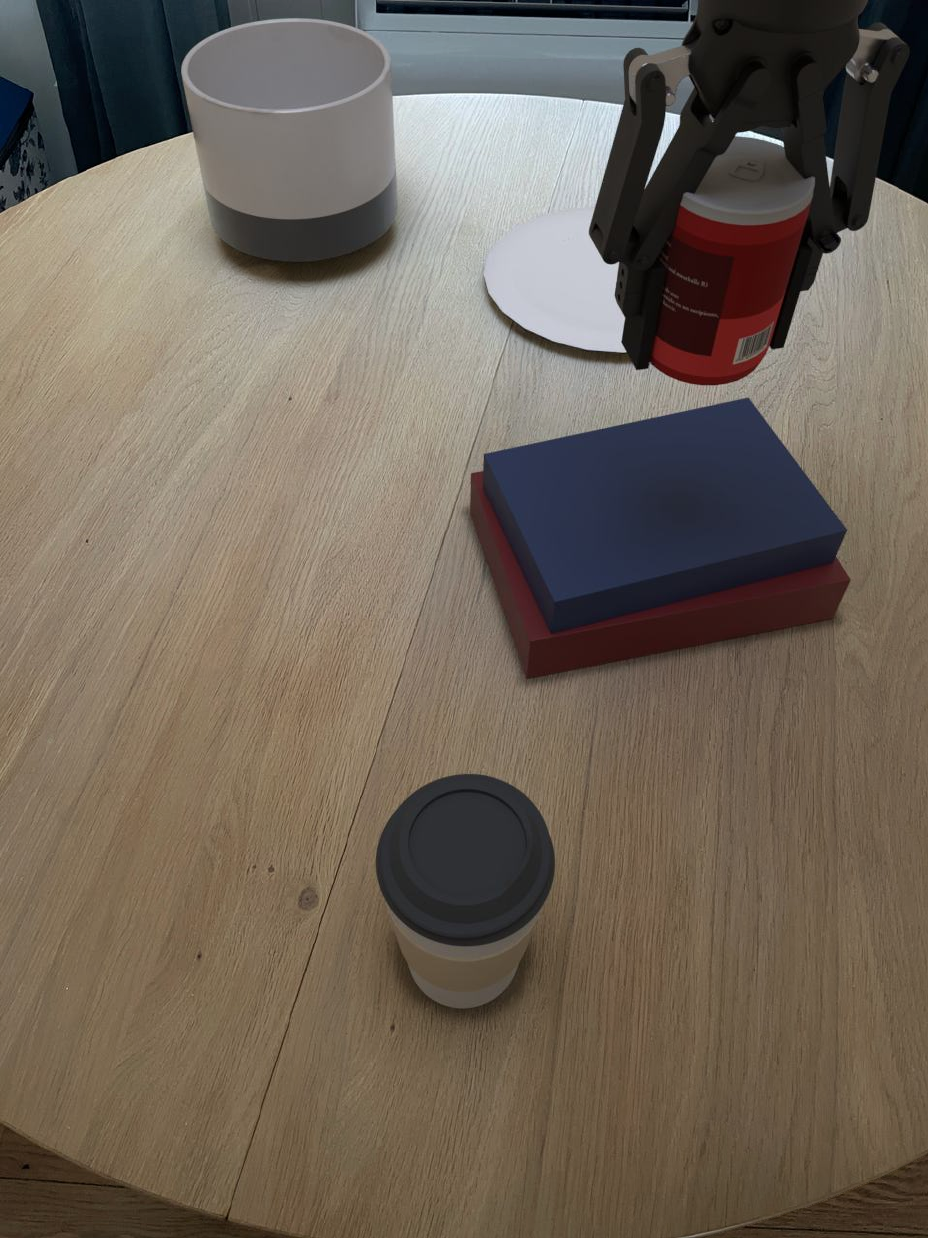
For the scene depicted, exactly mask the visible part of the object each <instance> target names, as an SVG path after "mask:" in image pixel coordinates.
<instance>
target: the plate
mask: <svg viewBox="0 0 928 1238" xmlns="http://www.w3.org/2000/svg"><path fill="white" fill-rule="evenodd" d="M595 206H596V205H594V206H582V207H568V208H563V209H559V210H555V211H550V212H546V213H542V214H539V215H536V216H534V217H532V218H530V219H528V220H525V221H523V222H521V223H518V224H516V225H515V226H514V227H512V228H511V229H510V230H508V231H507V232H505V233H504V234H502V235H501V236H500V237H498V239H497V240H496V242H495V243H494V244H493V246H492V247H491V249H490V250H489V252H488V253H487V254H486V259H485V263H484V269H483V278H484V282H485V285H486V290H487V294H488V296H489V297H490V299H491V300H492V301H493V303H494V304H495V305H496V307H497V308H498V309H499V311H500V312H501V314H503V315H504V316H505V317H507V318H508V319H509V320H511V321H512V322H513V323H514V324H516V325H517V326H519V327H520V328H521V329H522V330H524V331H526V332H528V333H530V334H533V335H535V336H537V337H539V338H542V339H544V340H546V341H548V342H551V343H553V344H556V345H559V346H564V347H568V348H572V349H577V350H580V351H584V352H589V353H604V354H615V355H625V354H627V352H626V350H625V348H624V346H623V345H622V343H621V341H622V335H623V328H624V321H625V317H624V315H623V313H622V311H621V310H620V308H619V306H618V304H617V302H616V299H615V296H614V295H615V288H616V281H617V274H618V267H619V262H618V263H616V264H612V265H610V264H606V263H605V262H604V261H603V259H602V257H601V255H600V254H599V252H598V250H597V248H596V246H595V245H594V243H593V241H592V239H591V238H590V236H589V227H590V224H591V220H592V216H593V213H594V209H595ZM580 236H582V237H580ZM576 237H577V238H576ZM569 238H573V239H569ZM568 239H569V240H568ZM564 240H565V241H564ZM562 241H563V242H562ZM627 355H628V354H627Z"/></svg>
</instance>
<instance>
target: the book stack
mask: <svg viewBox="0 0 928 1238" xmlns="http://www.w3.org/2000/svg"><path fill="white" fill-rule="evenodd" d="M482 465H483V467H482V468H483V469H482V470H481V471H476V472H471V473H470V494H469V495H470V496H469V497H470V499H469V502H470V503H469V514H470V516H471V519H472V523H473V525H474V528H475V531H476V534H477V537H478V540H479V542H480V547H481V550H482V552H483V555H484V558H485V560H486V563H487V567H488V570H489V573H490V575H491V579H492V581H493V585H494V588H495V590H496V593H497V596H498V599H499V602H500V605H501V608H502V610H503V611H502V612H503V613H504V616H505V619H506V623H507V625H508V628H509V631H510V635H511V637H512V640H513V643H514V646H515V649H516V652H517V654H518V657H519V661H520V663H521V667H522V670H523V672H524V675H525V678H526V680H528V679H533V678H537V677H543V676H548V675H552V674H559V673H563V672H568V671H574V670H579V669H582V668H589V667H594V666H599V665H604V664H609V663H614V662H618V661H619V662H620V661H624V660H629V659H634V658H640V657H644V656H651V655H655V654H660V653H665V652H670V651H674V650H681V649H685V648H691V647H695V646H700V645H705V644H710V643H715V642H721V641H726V640H731V639H736V638H741V637H745V636H747V637H748V636H751V635H757V634H762V633H767V632H772V631H777V630H782V629H786V628H792V627H798V626H802V625H808V624H812V623H818V622H822V621H828V620H833V619H834V617H835V616H836V613H837V611H838V610H839V607H840V605H841V602H842V600H843V598H844V596H845V593H846V592H847V589H848V587H849V585H850V583H851V581H852V579H851V578H850V576H849V575H848V573H847V571H846V570H845V568H844V566H843V565H842V563H841V562H840V560H839V558H838V557H837V555H838V553H839V550H840V549H841V546H842V544H843V541H844V539H845V537H846V534H847V532H848V528H846V526H845V525H844V523H843V522H842V520H841V519H840V518H839V517H838V515H837V514H836V513H835V511H834V510H833V509H832V507H831V505H830V504H829V503H828V502H827V501H826V499H825V498H824V497H823V495H822V494H821V493H820V491H819V490H818V489H817V487H816V486H815V485H814V483H813V482H812V480H811V478H809V476H808V475H807V473H805V471H804V469H803V468H802V467H801V466H800V464H799V463H798V462H797V460H796V459H795V458H794V456H793V455H792V453H790V451H789V450H788V448H787V447H786V445H785V444H784V443H783V441H782V440H781V439H780V438H779V436H778V435H777V434H776V433H775V430H773V428H772V426H771V425H770V424H769V423H768V422H767V420H766V419H765V417H764V416H763V414H761V412H760V410H759V409H758V408H757V407H756V405H755V404H754V402H753V401H752V399H750V397H744V398H740V399H735V400H730V401H726V402H720V403H715V404H712V405H711V404H710V405H707V406H702V407H697V408H692V409H687V410H684V411H679V412H675V413H669V414H665V415H660V416H655V417H651V418H645V419H639V420H637V421H631V422H628V423H623V424H622V423H621V424H617V425H613V426H608V427H603V428H599V429H594V430H589V431H585V432H581V433H575V434H571V435H566V436H561V437H556V438H551V439H547V440H543V441H537V442H533V443H529V444H524V445H519V446H515V447H514V446H513V447H509V448H506V449H501V450H496V451H491V452H485V453H483V464H482Z"/></svg>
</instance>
